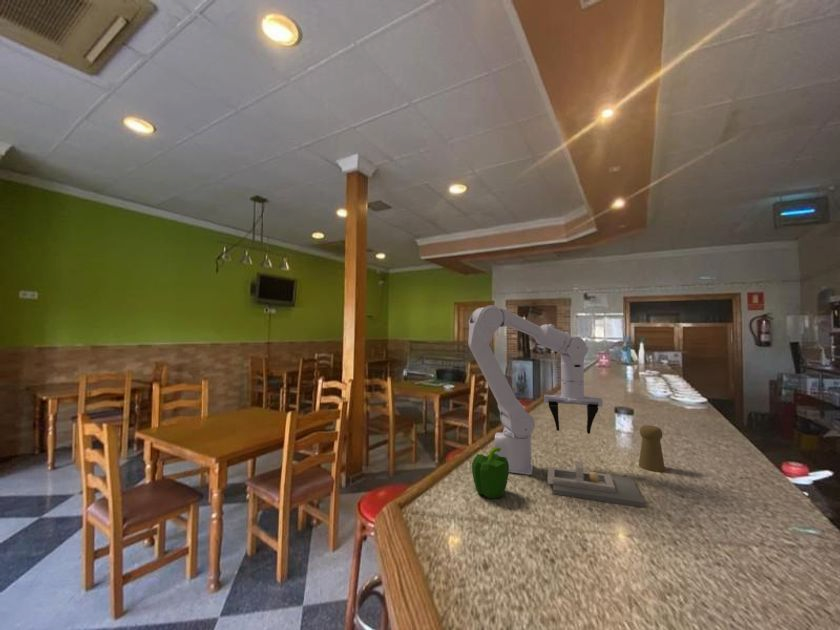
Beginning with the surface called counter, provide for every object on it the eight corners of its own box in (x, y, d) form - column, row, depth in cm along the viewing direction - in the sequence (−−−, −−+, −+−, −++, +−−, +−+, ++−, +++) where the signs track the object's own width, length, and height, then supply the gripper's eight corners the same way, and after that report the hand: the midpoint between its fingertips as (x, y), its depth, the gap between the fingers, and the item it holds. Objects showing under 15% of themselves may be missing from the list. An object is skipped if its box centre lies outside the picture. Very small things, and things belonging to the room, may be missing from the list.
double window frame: (547, 483, 86) (547, 466, 86) (548, 471, 93) (548, 455, 93) (615, 493, 81) (614, 474, 81) (610, 479, 88) (609, 462, 89)
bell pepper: (478, 503, 78) (478, 455, 78) (467, 487, 86) (467, 443, 86) (516, 501, 79) (516, 453, 79) (501, 485, 87) (501, 442, 87)
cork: (669, 472, 96) (668, 429, 96) (643, 470, 97) (642, 428, 98) (659, 464, 102) (658, 424, 102) (635, 462, 103) (634, 422, 103)
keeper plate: (552, 493, 83) (552, 478, 83) (552, 471, 96) (552, 458, 96) (645, 507, 76) (644, 491, 77) (631, 481, 90) (631, 468, 90)
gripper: (543, 381, 99) (544, 432, 99) (603, 384, 94) (604, 437, 94) (544, 378, 106) (545, 425, 105) (600, 380, 101) (601, 431, 100)
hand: (572, 431), depth 100 cm, fingers open, 7 cm apart
